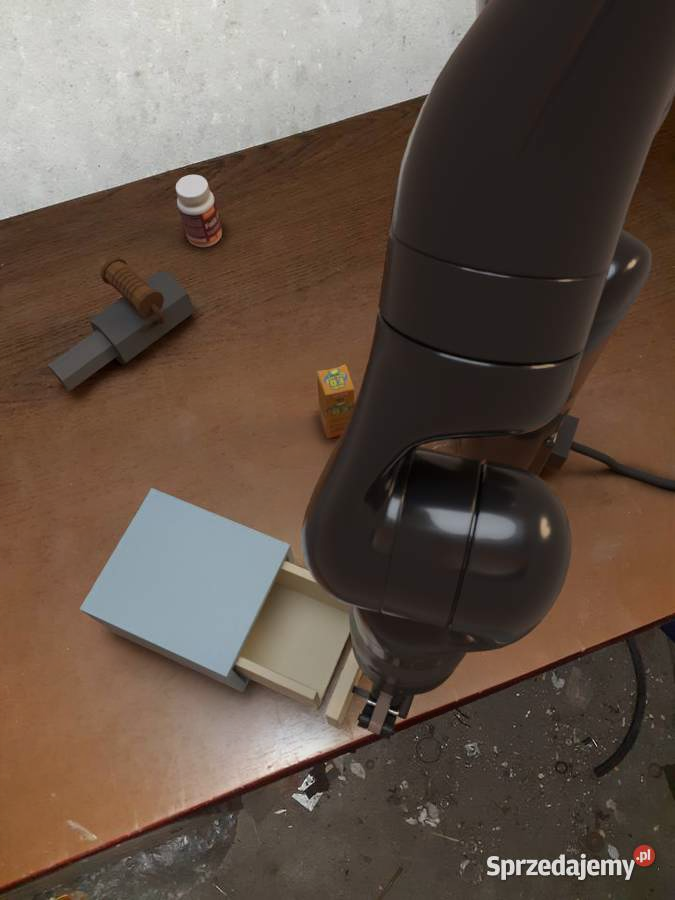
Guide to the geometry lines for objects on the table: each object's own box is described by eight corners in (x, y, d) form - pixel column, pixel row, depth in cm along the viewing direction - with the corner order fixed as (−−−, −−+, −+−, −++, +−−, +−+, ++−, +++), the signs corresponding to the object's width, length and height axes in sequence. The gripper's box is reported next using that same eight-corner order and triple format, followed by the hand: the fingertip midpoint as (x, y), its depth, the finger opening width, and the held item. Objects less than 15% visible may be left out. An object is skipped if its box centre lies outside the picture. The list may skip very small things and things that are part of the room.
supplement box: (327, 441, 78) (323, 395, 69) (319, 416, 80) (314, 368, 71) (355, 434, 78) (354, 387, 70) (347, 409, 80) (345, 360, 71)
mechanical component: (45, 367, 84) (7, 316, 75) (159, 286, 89) (136, 229, 80) (93, 418, 80) (59, 370, 71) (208, 330, 86) (190, 275, 77)
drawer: (435, 636, 67) (443, 617, 60) (392, 753, 63) (396, 747, 56) (262, 564, 71) (252, 538, 64) (210, 669, 66) (193, 654, 59)
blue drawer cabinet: (298, 574, 71) (290, 544, 63) (243, 693, 66) (226, 677, 58) (175, 523, 74) (151, 487, 66) (113, 632, 69) (78, 609, 61)
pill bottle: (217, 250, 91) (204, 201, 84) (182, 245, 92) (167, 196, 85) (226, 224, 94) (215, 174, 86) (193, 219, 94) (178, 169, 87)
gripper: (432, 756, 40) (413, 766, 55) (499, 550, 45) (465, 612, 60) (312, 703, 41) (327, 728, 57) (390, 510, 46) (384, 581, 62)
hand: (398, 668), depth 58 cm, fingers closed
